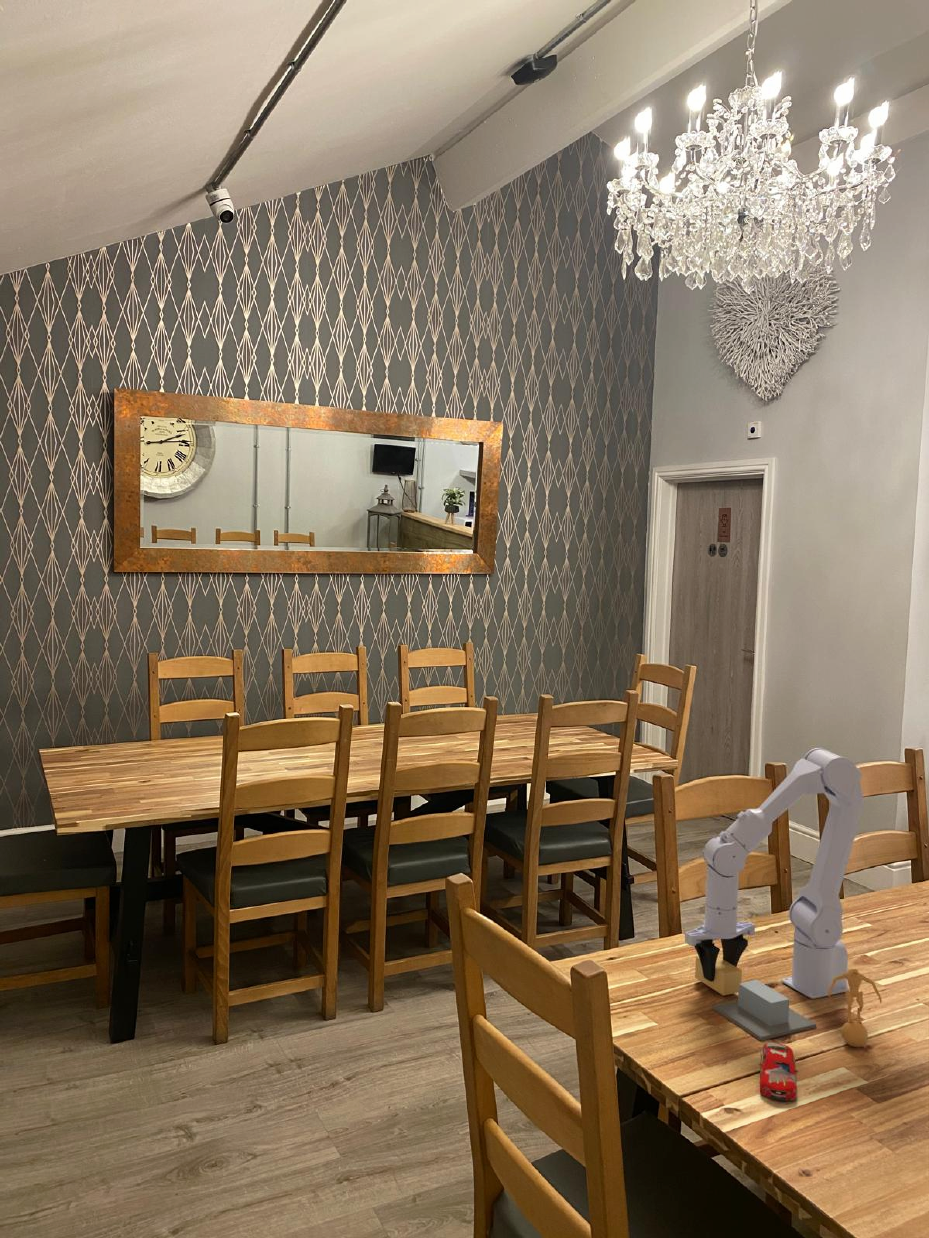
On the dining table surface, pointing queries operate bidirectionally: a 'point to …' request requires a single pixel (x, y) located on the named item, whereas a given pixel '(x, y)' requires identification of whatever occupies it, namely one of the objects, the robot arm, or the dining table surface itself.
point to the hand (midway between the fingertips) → (718, 977)
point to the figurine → (852, 1029)
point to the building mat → (761, 1028)
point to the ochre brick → (721, 976)
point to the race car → (778, 1072)
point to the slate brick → (763, 1002)
